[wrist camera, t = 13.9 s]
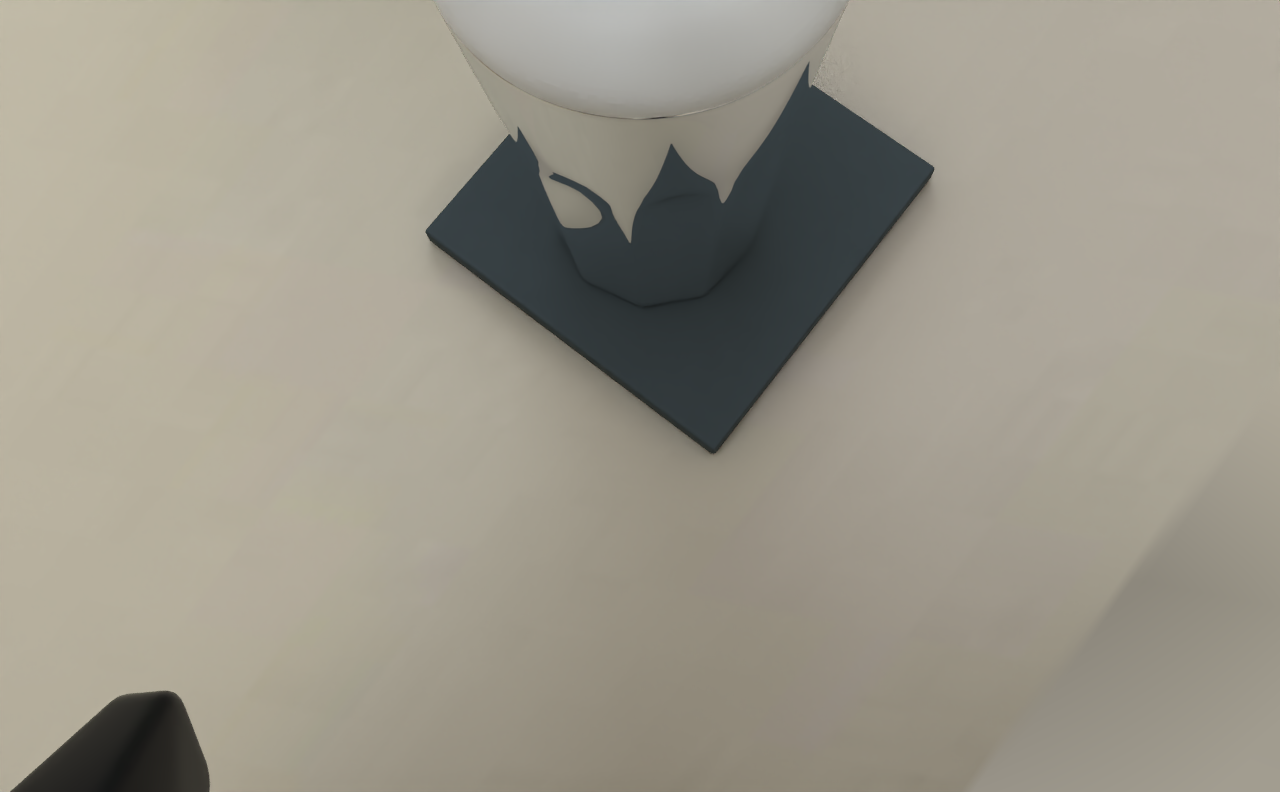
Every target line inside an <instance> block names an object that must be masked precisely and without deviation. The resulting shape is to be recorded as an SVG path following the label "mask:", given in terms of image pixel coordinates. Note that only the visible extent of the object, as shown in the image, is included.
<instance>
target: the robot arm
mask: <svg viewBox="0 0 1280 792" xmlns="http://www.w3.org/2000/svg"><path fill="white" fill-rule="evenodd" d="M209 790H210V781H209V772H208V767H207V763H206V760H205V758H204V755H203V753H202V750H201V747H200V745H199V742H198V740H197V737H196V734H195V732H194V729H193V727H192V724H191V721H190V719H189V716H188V714H187V711H186V708H185V706H184V704H183V702H182V700H181V699H180V697H179V696H178V695H177V694H175V693H174V692H170V691H156V692H144V693H133V694H126V695H122V696H119V697H117V698H116V699H114V700H113V701H111V702H110V703H109V704H108V705H107V706H105V707H104V708H103V709H102V710H101V711H100V712H99V713H98V714H97V715H95V716H94V717H93V718H92V719H91V720H90V721H89V722H88V723H86V724H85V725H84V726H83V727H82V728H81V729H80V730H79V731H78V732H76V733H75V734H74V735H73V736H72V737H71V738H70V739H69V740H67V741H66V742H65V743H64V744H63V745H62V746H61V747H60V748H59V749H57V750H56V751H55V752H54V753H53V754H52V755H51V756H50V757H49V758H47V759H46V760H45V761H44V762H43V763H42V764H41V765H40V766H38V767H37V768H36V769H35V770H34V771H33V772H32V773H31V774H30V775H28V776H27V777H26V778H25V779H24V780H23V781H22V782H21V783H19V784H18V785H17V786H16V787H15V788H14V789H13V790H12V791H11V792H209Z"/></svg>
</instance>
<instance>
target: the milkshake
mask: <svg viewBox="0 0 1280 792" xmlns="http://www.w3.org/2000/svg"><path fill="white" fill-rule="evenodd" d="M433 1H434V2H435V4H436V6H437V8H438V10H439V12H440V14H441V16H442V17H443V19H444V21H445V23H446V25H447V27H448V28H449V30H450V32H451V34H452V36H453V37H454V39H455V41H456V43H457V45H458V46H459V48H460V50H461V52H462V53H463V55H464V57H465V59H466V61H467V62H468V64H469V66H470V68H471V69H472V71H473V73H474V75H475V77H476V78H477V80H478V82H479V84H480V85H481V87H482V89H483V91H484V93H485V94H486V96H487V98H488V100H489V101H490V103H491V105H492V106H493V108H494V110H495V112H496V113H497V115H498V116H499V118H500V120H501V121H502V123H503V124H504V126H505V128H506V129H507V131H508V132H509V134H510V135H511V137H512V138H513V140H514V142H515V144H516V147H517V149H518V151H519V153H520V155H521V157H522V159H523V161H524V163H525V166H526V168H527V170H528V172H529V174H530V176H531V178H532V180H533V182H534V185H535V187H536V189H537V191H538V193H539V195H540V197H541V199H542V202H543V204H544V206H545V208H546V210H547V212H548V214H549V216H550V218H551V221H552V223H553V225H554V227H555V228H556V230H557V232H558V234H559V236H560V237H561V239H562V241H563V243H564V244H565V246H566V248H567V250H568V252H569V253H570V255H571V257H572V259H573V261H574V263H575V264H576V266H577V268H578V270H579V272H580V274H581V275H582V277H583V279H584V281H585V282H587V283H589V284H592V285H594V286H596V287H598V288H601V289H603V290H605V291H607V292H609V293H612V294H614V295H616V296H618V297H620V298H623V299H625V300H627V301H629V302H631V303H633V304H636V305H638V306H640V307H647V306H652V305H658V304H663V303H669V302H674V301H680V300H685V299H691V298H697V297H703V296H705V295H706V294H707V293H708V292H709V291H710V290H711V289H712V288H713V287H714V286H715V285H716V284H717V283H718V282H719V281H720V280H721V279H722V278H723V277H724V276H725V275H726V274H727V273H728V272H729V270H730V269H731V268H732V267H733V266H734V265H735V264H736V263H737V262H738V261H739V260H740V259H741V258H742V257H743V256H744V255H745V254H746V253H747V252H748V251H749V249H750V246H751V244H752V241H753V238H754V236H755V233H756V230H757V228H758V225H759V222H760V220H761V217H762V214H763V212H764V209H765V206H766V204H767V201H768V198H769V195H770V193H771V190H772V187H773V185H774V182H775V179H776V177H777V174H778V171H779V169H780V166H781V163H782V161H783V158H784V155H785V152H786V150H787V147H788V144H789V142H790V139H791V136H792V133H793V131H794V128H795V125H796V122H797V120H798V117H799V114H800V112H801V109H802V107H803V105H804V102H805V100H806V97H807V95H808V93H809V91H810V88H811V86H812V84H813V81H814V79H815V77H816V75H817V72H818V70H819V68H820V65H821V63H822V61H823V59H824V56H825V54H826V52H827V50H828V47H829V45H830V43H831V41H832V38H833V36H834V34H835V31H836V29H837V27H838V25H839V22H840V20H841V18H842V16H843V13H844V11H845V9H846V7H847V4H848V2H849V0H433Z"/></svg>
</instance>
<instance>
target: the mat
mask: <svg viewBox="0 0 1280 792" xmlns="http://www.w3.org/2000/svg"><path fill="white" fill-rule="evenodd" d="M933 171H934V167H933V166H932V165H930V164H929V163H927V162H926V161H924V160H923V159H921V158H920V157H918V156H917V155H915V154H914V153H912V152H911V151H909V150H908V149H906V148H905V147H904V146H902V145H901V144H899V143H898V142H896V141H895V140H893V139H892V138H890V137H889V136H887V135H886V134H884V133H883V132H881V131H880V130H878V129H877V128H875V127H874V126H873V125H871V124H870V123H868V122H867V121H865V120H864V119H862V118H861V117H859V116H858V115H856V114H855V113H853V112H852V111H850V110H849V109H847V108H846V107H845V106H843V105H842V104H840V103H839V102H837V101H836V100H834V99H833V98H831V97H830V96H828V95H827V94H825V93H824V92H822V91H821V90H819V89H818V88H816V87H815V86H814V85H812V86H811V88H810V91H809V93H808V95H807V97H806V100H805V102H804V105H803V107H802V109H801V112H800V114H799V117H798V120H797V122H796V125H795V128H794V131H793V133H792V136H791V139H790V142H789V144H788V147H787V150H786V152H785V155H784V158H783V161H782V163H781V166H780V169H779V171H778V174H777V177H776V179H775V182H774V185H773V187H772V190H771V193H770V195H769V198H768V201H767V204H766V206H765V209H764V212H763V214H762V217H761V220H760V222H759V225H758V228H757V230H756V233H755V236H754V238H753V241H752V244H751V246H750V249H749V251H748V252H747V253H746V254H745V255H744V256H743V257H742V258H741V259H740V260H739V261H738V262H737V263H736V264H735V265H734V266H733V267H732V268H731V269H730V270H729V272H728V273H727V274H726V275H725V276H724V277H723V278H722V279H721V280H720V281H719V282H718V283H717V284H716V285H715V286H714V287H713V288H712V289H711V290H710V291H709V292H708V293H707V294H706V295H705V296H703V297H697V298H691V299H685V300H680V301H674V302H669V303H663V304H658V305H652V306H647V307H640V306H638V305H636V304H633V303H631V302H629V301H627V300H625V299H623V298H620V297H618V296H616V295H614V294H612V293H609V292H607V291H605V290H603V289H601V288H598V287H596V286H594V285H592V284H589V283H587V282H585V281H584V279H583V277H582V275H581V274H580V272H579V270H578V268H577V266H576V264H575V263H574V261H573V259H572V257H571V255H570V253H569V252H568V250H567V248H566V246H565V244H564V243H563V241H562V239H561V237H560V236H559V234H558V232H557V230H556V228H555V227H554V225H553V223H552V221H551V218H550V216H549V214H548V212H547V210H546V208H545V206H544V204H543V202H542V199H541V197H540V195H539V193H538V191H537V189H536V187H535V185H534V182H533V180H532V178H531V176H530V174H529V172H528V170H527V168H526V166H525V163H524V161H523V159H522V157H521V155H520V153H519V151H518V149H517V147H516V144H515V142H514V140H513V138H512V137H511V135H510V134H509V135H508V136H507V137H506V139H505V140H504V141H503V142H502V143H501V144H500V145H499V147H498V148H497V149H496V150H495V151H494V152H493V154H492V155H491V156H490V157H489V158H488V159H487V160H486V162H485V163H484V164H483V165H482V166H481V167H480V168H479V170H478V171H477V172H476V173H475V174H474V175H473V177H472V178H471V179H470V180H469V181H468V182H467V183H466V185H465V186H464V187H463V188H462V189H461V190H460V191H459V193H458V194H457V195H456V196H455V197H454V198H453V200H452V201H451V202H450V203H449V204H448V205H447V206H446V208H445V209H444V210H443V211H442V212H441V213H440V214H439V216H438V217H437V218H436V219H435V220H434V221H433V223H432V224H431V225H430V226H429V227H428V228H427V229H426V234H427V236H428V237H429V239H430V241H432V242H433V243H434V244H435V245H437V246H438V247H439V248H441V249H442V250H443V251H445V252H446V253H447V254H449V255H450V256H451V257H453V258H454V259H455V260H457V261H458V262H459V263H461V264H462V265H463V266H465V267H466V268H467V269H469V270H470V271H471V272H472V273H474V274H475V275H476V276H478V277H479V278H480V279H482V280H483V281H484V282H486V283H487V284H488V285H490V286H491V287H492V288H494V289H495V290H496V291H498V292H499V293H500V294H502V295H503V296H504V297H506V298H507V299H508V300H509V301H511V302H512V303H513V304H515V305H516V306H517V307H519V308H520V309H521V310H523V311H524V312H525V313H527V314H528V315H529V316H531V317H532V318H533V319H535V320H536V321H537V322H539V323H540V324H541V325H543V326H544V327H545V328H546V329H548V330H549V331H550V332H552V333H553V334H554V335H556V336H557V337H558V338H560V339H561V340H562V341H564V342H565V343H566V344H568V345H569V346H570V347H572V348H573V349H574V350H576V351H577V352H578V353H579V354H581V355H582V356H583V357H585V358H586V359H587V360H589V361H590V362H591V363H593V364H594V365H595V366H597V367H598V368H599V369H601V370H602V371H603V372H605V373H606V374H607V375H609V376H610V377H611V378H613V379H614V380H615V381H616V382H618V383H619V384H620V385H622V386H623V387H624V388H626V389H627V390H628V391H630V392H631V393H632V394H634V395H635V396H636V397H638V398H639V399H640V400H642V401H643V402H644V403H646V404H647V405H648V406H650V407H651V408H652V409H653V410H655V411H656V412H657V413H659V414H660V415H661V416H663V417H664V418H665V419H667V420H668V421H669V422H671V423H672V424H673V425H675V426H676V427H677V428H679V429H680V430H681V431H683V432H684V433H685V434H687V435H688V436H689V437H690V438H692V439H693V440H694V441H696V442H697V443H698V444H700V445H701V446H702V447H704V448H705V449H706V450H708V451H709V452H710V453H712V454H714V453H716V452H717V450H718V449H719V448H720V446H721V445H722V444H723V443H724V441H725V440H726V439H727V437H728V436H729V435H730V434H731V432H732V431H733V430H734V428H735V427H736V426H737V425H738V423H739V422H740V421H741V420H742V418H743V417H744V416H745V414H746V413H747V412H748V411H749V409H750V408H751V407H752V405H753V404H754V403H755V402H756V400H757V399H758V398H759V397H760V395H761V394H762V393H763V391H764V390H765V389H766V388H767V386H768V385H769V384H770V382H771V381H772V380H773V379H774V377H775V376H776V375H777V373H778V372H779V371H780V370H781V368H782V367H783V366H784V365H785V363H786V362H787V361H788V359H789V358H790V357H791V356H792V354H793V353H794V352H795V350H796V349H797V348H798V347H799V345H800V344H801V343H802V342H803V340H804V339H805V338H806V336H807V335H808V334H809V333H810V331H811V330H812V329H813V327H814V326H815V325H816V324H817V322H818V321H819V320H820V318H821V317H822V316H823V315H824V313H825V312H826V311H827V310H828V308H829V307H830V306H831V304H832V303H833V302H834V301H835V299H836V298H837V297H838V295H839V294H840V293H841V292H842V290H843V289H844V288H845V287H846V285H847V284H848V283H849V281H850V280H851V279H852V278H853V276H854V275H855V274H856V272H857V271H858V270H859V269H860V267H861V266H862V265H863V263H864V262H865V261H866V260H867V258H868V257H869V256H870V255H871V253H872V252H873V251H874V249H875V248H876V247H877V246H878V244H879V243H880V242H881V240H882V239H883V238H884V237H885V235H886V234H887V233H888V232H889V230H890V229H891V228H892V226H893V225H894V224H895V223H896V221H897V220H898V219H899V217H900V216H901V215H902V214H903V212H904V211H905V210H906V209H907V207H908V206H909V205H910V203H911V202H912V201H913V200H914V198H915V197H916V196H917V194H918V193H919V192H920V191H921V189H922V188H923V187H924V185H925V184H926V183H927V182H928V180H929V179H930V178H931V175H932V173H933Z"/></svg>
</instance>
